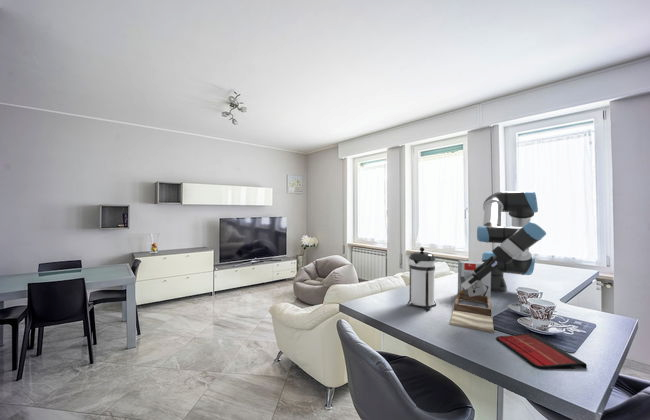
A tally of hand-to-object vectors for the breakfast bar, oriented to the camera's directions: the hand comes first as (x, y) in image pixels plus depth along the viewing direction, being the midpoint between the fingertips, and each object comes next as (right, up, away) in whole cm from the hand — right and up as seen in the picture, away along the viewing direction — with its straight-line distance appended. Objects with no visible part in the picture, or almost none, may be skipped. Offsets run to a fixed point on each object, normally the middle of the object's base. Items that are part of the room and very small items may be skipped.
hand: (463, 284), depth 122 cm
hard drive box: (+22, -16, +32) cm, 42 cm away
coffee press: (-12, -16, +19) cm, 28 cm away
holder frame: (+13, -16, +17) cm, 26 cm away
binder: (+11, -17, -27) cm, 34 cm away
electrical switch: (+3, -4, -2) cm, 5 cm away
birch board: (+3, -16, -2) cm, 16 cm away
